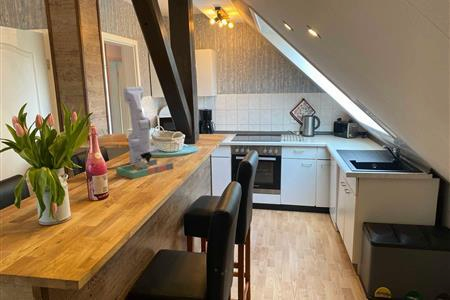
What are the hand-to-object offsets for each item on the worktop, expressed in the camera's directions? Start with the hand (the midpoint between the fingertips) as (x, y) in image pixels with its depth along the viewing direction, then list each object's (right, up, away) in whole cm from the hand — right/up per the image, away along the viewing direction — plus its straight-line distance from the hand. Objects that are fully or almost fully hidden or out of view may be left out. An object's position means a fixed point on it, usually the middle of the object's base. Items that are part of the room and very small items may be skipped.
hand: (146, 166), depth 177 cm
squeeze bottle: (-25, -5, -9) cm, 27 cm away
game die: (-1, -3, -4) cm, 5 cm away
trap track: (0, -2, 0) cm, 2 cm away
